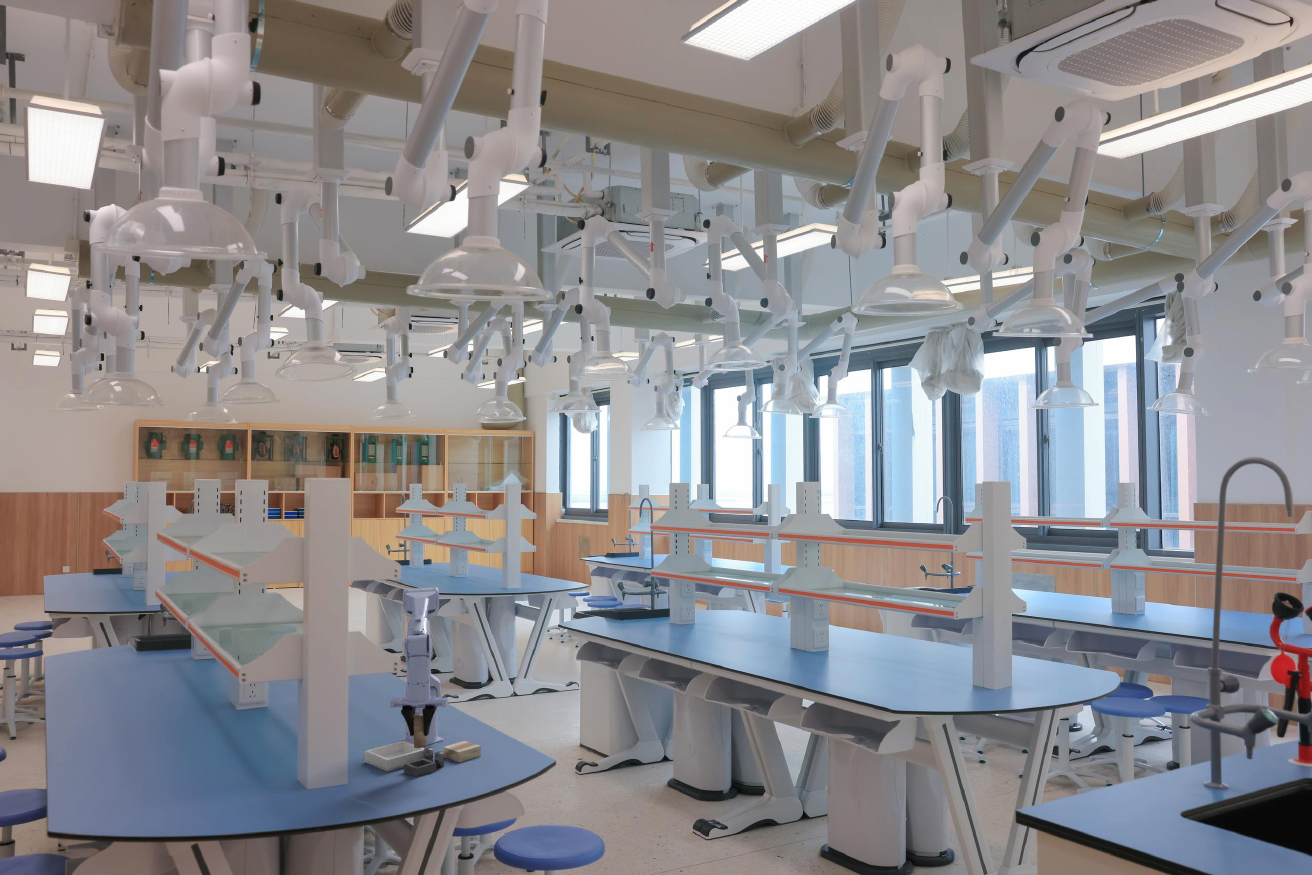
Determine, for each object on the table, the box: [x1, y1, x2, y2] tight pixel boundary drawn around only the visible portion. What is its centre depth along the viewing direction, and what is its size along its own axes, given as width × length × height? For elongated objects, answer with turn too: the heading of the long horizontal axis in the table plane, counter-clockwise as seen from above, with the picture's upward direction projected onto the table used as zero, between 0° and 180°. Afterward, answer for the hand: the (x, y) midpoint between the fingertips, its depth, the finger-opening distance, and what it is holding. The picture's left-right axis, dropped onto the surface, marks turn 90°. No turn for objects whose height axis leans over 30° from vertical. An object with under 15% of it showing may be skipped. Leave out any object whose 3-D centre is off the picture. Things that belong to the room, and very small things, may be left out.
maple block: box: [442, 740, 482, 763], centre depth 255 cm, size 7×7×3 cm
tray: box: [364, 740, 426, 773], centre depth 252 cm, size 12×12×3 cm
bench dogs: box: [424, 747, 445, 769], centre depth 249 cm, size 7×2×4 cm, turn 46°
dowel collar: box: [403, 758, 437, 777], centre depth 243 cm, size 6×6×2 cm
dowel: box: [413, 714, 427, 748], centre depth 244 cm, size 3×3×8 cm
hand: (419, 734), depth 244 cm, fingers closed on dowel, 3 cm apart
